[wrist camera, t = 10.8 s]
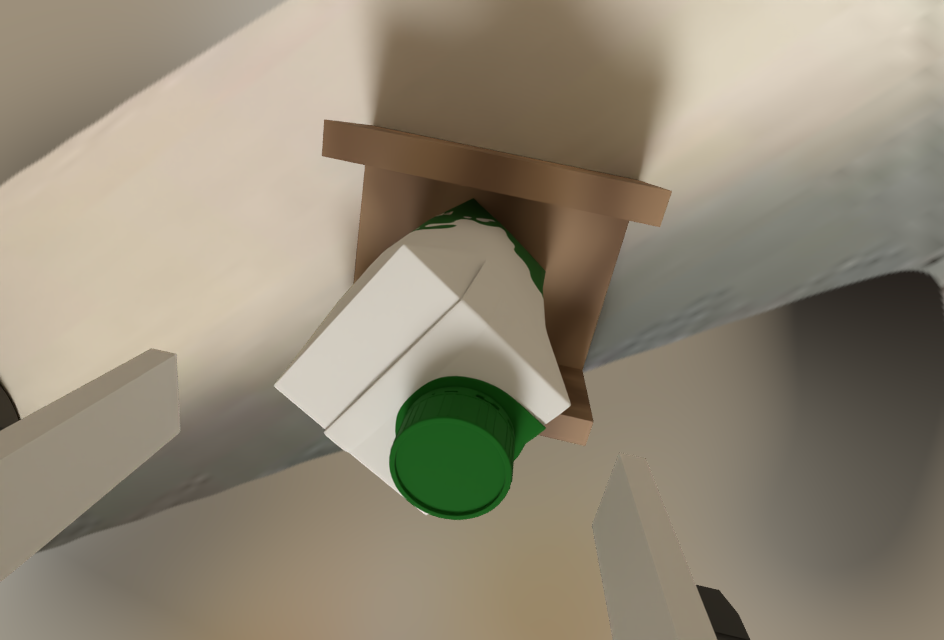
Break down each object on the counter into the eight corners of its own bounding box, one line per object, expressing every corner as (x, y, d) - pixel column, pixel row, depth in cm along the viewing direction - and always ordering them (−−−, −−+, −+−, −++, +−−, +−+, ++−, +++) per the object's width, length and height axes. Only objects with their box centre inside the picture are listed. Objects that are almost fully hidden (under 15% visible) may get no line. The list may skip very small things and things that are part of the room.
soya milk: (477, 349, 35) (414, 579, 17) (388, 265, 34) (209, 414, 15) (565, 270, 32) (608, 442, 14) (472, 175, 31) (377, 221, 12)
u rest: (351, 334, 37) (307, 380, 30) (373, 125, 31) (324, 119, 24) (574, 385, 36) (585, 446, 29) (638, 180, 30) (671, 191, 23)
